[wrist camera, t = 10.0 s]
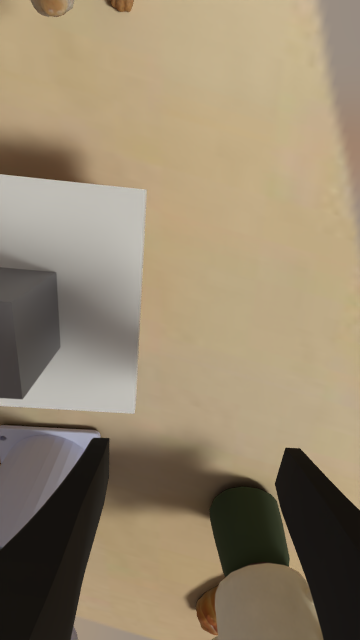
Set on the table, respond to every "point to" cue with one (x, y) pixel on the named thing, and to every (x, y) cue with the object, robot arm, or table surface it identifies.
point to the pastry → (207, 611)
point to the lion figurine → (57, 3)
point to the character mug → (258, 572)
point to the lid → (70, 294)
